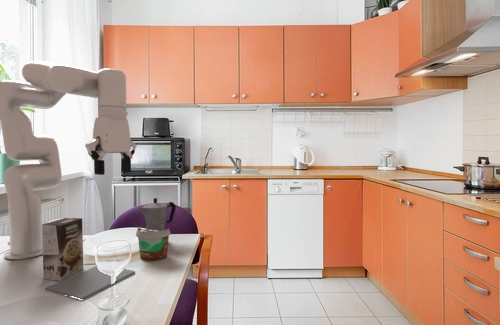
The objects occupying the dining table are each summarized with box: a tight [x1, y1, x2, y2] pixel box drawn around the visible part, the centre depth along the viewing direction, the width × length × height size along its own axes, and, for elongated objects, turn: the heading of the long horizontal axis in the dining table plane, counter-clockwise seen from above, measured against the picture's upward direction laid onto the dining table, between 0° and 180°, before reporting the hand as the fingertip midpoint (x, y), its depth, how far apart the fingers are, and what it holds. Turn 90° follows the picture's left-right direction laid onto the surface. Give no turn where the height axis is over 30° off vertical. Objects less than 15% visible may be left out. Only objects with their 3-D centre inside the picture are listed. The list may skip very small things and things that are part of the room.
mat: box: [44, 265, 136, 300], centre depth 88 cm, size 14×18×1 cm
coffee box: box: [42, 217, 85, 282], centre depth 93 cm, size 9×6×16 cm
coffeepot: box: [138, 197, 177, 231], centre depth 122 cm, size 15×9×18 cm, turn 133°
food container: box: [135, 226, 171, 262], centre depth 105 cm, size 12×6×10 cm, turn 76°
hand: (113, 172), depth 90 cm, fingers open, 9 cm apart
